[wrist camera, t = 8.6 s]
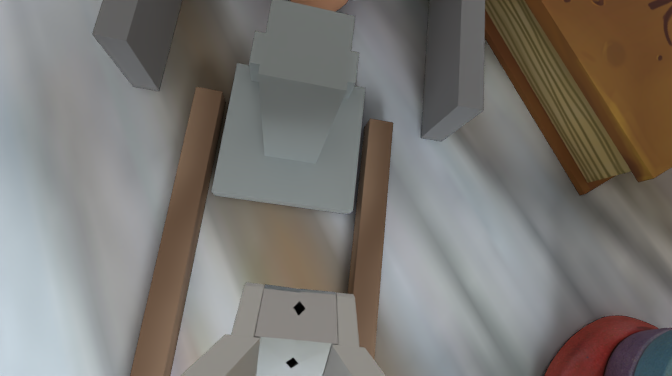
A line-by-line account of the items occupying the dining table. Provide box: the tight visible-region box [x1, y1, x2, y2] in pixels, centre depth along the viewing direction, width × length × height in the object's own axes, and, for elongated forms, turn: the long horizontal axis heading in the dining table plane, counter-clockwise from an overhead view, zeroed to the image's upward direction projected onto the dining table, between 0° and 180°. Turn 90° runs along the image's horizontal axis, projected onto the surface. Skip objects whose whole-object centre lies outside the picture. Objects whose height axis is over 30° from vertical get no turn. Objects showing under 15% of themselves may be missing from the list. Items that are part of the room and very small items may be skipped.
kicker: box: [212, 0, 365, 214], centre depth 17 cm, size 8×9×10 cm
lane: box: [130, 87, 393, 376], centre depth 19 cm, size 12×22×2 cm, turn 173°
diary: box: [485, 0, 672, 195], centre depth 27 cm, size 23×19×6 cm
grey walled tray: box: [92, 0, 485, 141], centre depth 22 cm, size 20×13×5 cm, turn 83°
